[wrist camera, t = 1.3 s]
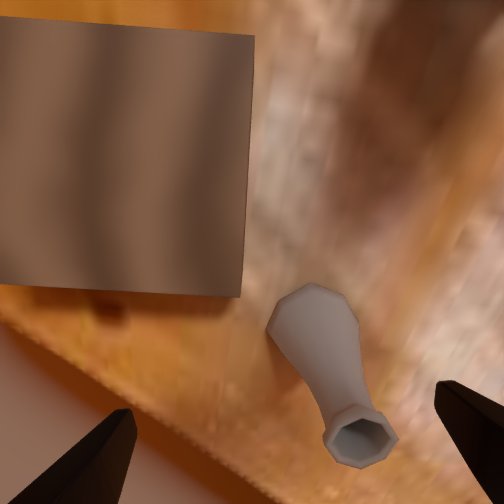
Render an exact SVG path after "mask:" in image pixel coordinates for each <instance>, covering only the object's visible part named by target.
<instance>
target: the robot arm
mask: <svg viewBox="0 0 504 504" xmlns="http://www.w3.org/2000/svg"><path fill="white" fill-rule="evenodd" d="M434 407H435V410H436V412H437V414H438V416H439V418H440V419H441V421H442V423H443V424H444V426H445V428H446V430H447V431H448V433H449V435H450V436H451V438H452V440H453V441H454V443H455V445H456V447H457V448H458V450H459V452H460V453H461V455H462V457H463V458H464V460H465V462H466V464H467V465H468V467H469V468H470V470H471V472H472V473H473V475H474V477H475V478H476V479H477V481H478V482H479V484H480V485H481V487H482V488H483V490H484V491H485V493H486V494H487V496H488V497H489V499H490V500H491V501H492V503H493V504H504V406H502V405H500V404H498V403H496V402H494V401H492V400H490V399H489V398H487V397H485V396H483V395H481V394H479V393H477V392H475V391H473V390H471V389H469V388H467V387H466V386H464V385H462V384H460V383H458V382H456V381H453V380H446V381H439V382H437V384H436V390H435V399H434ZM136 439H137V426H136V423H135V419H134V416H133V412H132V410H131V409H130V408H123V409H117V410H115V411H113V412H112V413H111V414H110V415H109V416H108V417H106V419H104V420H103V421H102V422H101V423H100V424H98V425H97V426H96V427H95V428H94V429H93V430H92V431H90V433H88V434H87V435H86V436H85V437H84V438H82V439H81V440H80V441H79V442H78V443H77V444H75V445H74V446H73V447H72V448H71V449H70V450H69V451H67V452H66V453H65V454H64V455H63V456H62V457H61V458H59V459H58V460H57V461H56V462H55V463H54V464H53V465H51V466H50V467H49V468H48V469H47V470H46V471H45V472H43V473H42V474H41V475H40V476H39V477H38V478H37V479H35V480H34V481H33V482H32V483H31V484H30V485H28V486H27V487H26V488H25V489H24V490H23V491H22V492H21V493H19V494H18V495H17V496H16V497H15V498H13V500H11V501H10V502H9V503H8V504H118V501H119V498H120V495H121V491H122V487H123V484H124V481H125V477H126V474H127V470H128V467H129V463H130V460H131V456H132V452H133V449H134V446H135V442H136Z"/></svg>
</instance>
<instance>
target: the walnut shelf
mask: <svg viewBox="0 0 504 504" xmlns="http://www.w3.org/2000/svg"><path fill="white" fill-rule="evenodd" d="M254 43H255V36H254V35H241V34H228V33H215V32H202V31H189V30H176V29H163V28H150V27H137V26H124V25H111V24H97V23H84V22H71V21H58V20H45V19H32V18H19V17H6V16H0V284H8V285H25V286H43V287H60V288H78V289H96V290H113V291H131V292H149V293H166V294H184V295H201V296H219V297H237V298H240V295H241V284H242V273H243V256H244V238H245V220H246V202H247V185H248V167H249V149H250V131H251V113H252V96H253V78H254Z"/></svg>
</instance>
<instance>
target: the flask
mask: <svg viewBox="0 0 504 504" xmlns="http://www.w3.org/2000/svg"><path fill="white" fill-rule="evenodd" d="M266 330H267V332H268V333H269V335H270V336H271V338H272V339H273V340H274V342H275V343H276V345H277V346H278V348H279V349H280V351H281V352H282V354H283V355H284V356H285V358H286V359H287V360H288V361H289V362H290V364H291V365H292V366H293V367H294V368H295V369H296V371H297V372H298V373H299V374H300V375H301V377H302V378H303V379H304V381H305V382H306V383H307V385H308V386H309V388H310V390H311V392H312V394H313V396H314V397H315V399H316V401H317V403H318V405H319V408H320V411H321V414H322V417H323V420H324V423H325V428H326V430H325V431H324V433H323V442H324V445H325V447H326V448H327V449H328V451H329V452H330V454H331V455H332V456H333V458H334V459H335V460H336V462H337V463H341V464H344V465H348V466H351V467H354V468H358V469H363V468H365V467H367V466H370V465H372V464H374V463H377V462H379V461H381V460H384V459H386V457H387V456H388V454H389V453H390V452H391V450H392V449H393V447H394V446H395V445H396V443H397V442H398V440H399V439H398V437H397V435H396V433H395V432H394V430H393V428H392V427H391V425H390V423H389V422H388V420H387V418H386V417H385V416H384V415H383V413H382V412H380V411H376V409H375V407H374V405H373V404H372V401H371V398H370V395H369V392H368V389H367V386H366V383H365V380H364V377H363V369H362V360H361V351H360V335H359V323H358V320H357V318H356V317H355V315H354V313H353V311H352V310H351V308H350V306H349V304H348V303H347V301H346V299H345V297H344V296H343V295H342V294H340V293H337V292H334V291H332V290H329V289H326V288H323V287H321V286H318V285H315V284H313V283H309V284H307V285H306V286H304V287H302V288H300V289H298V290H297V291H295V292H293V293H291V294H289V295H288V296H286V297H284V298H282V299H280V300H279V302H278V304H277V306H276V308H275V310H274V313H273V315H272V317H271V319H270V321H269V324H268V326H267V328H266Z"/></svg>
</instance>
